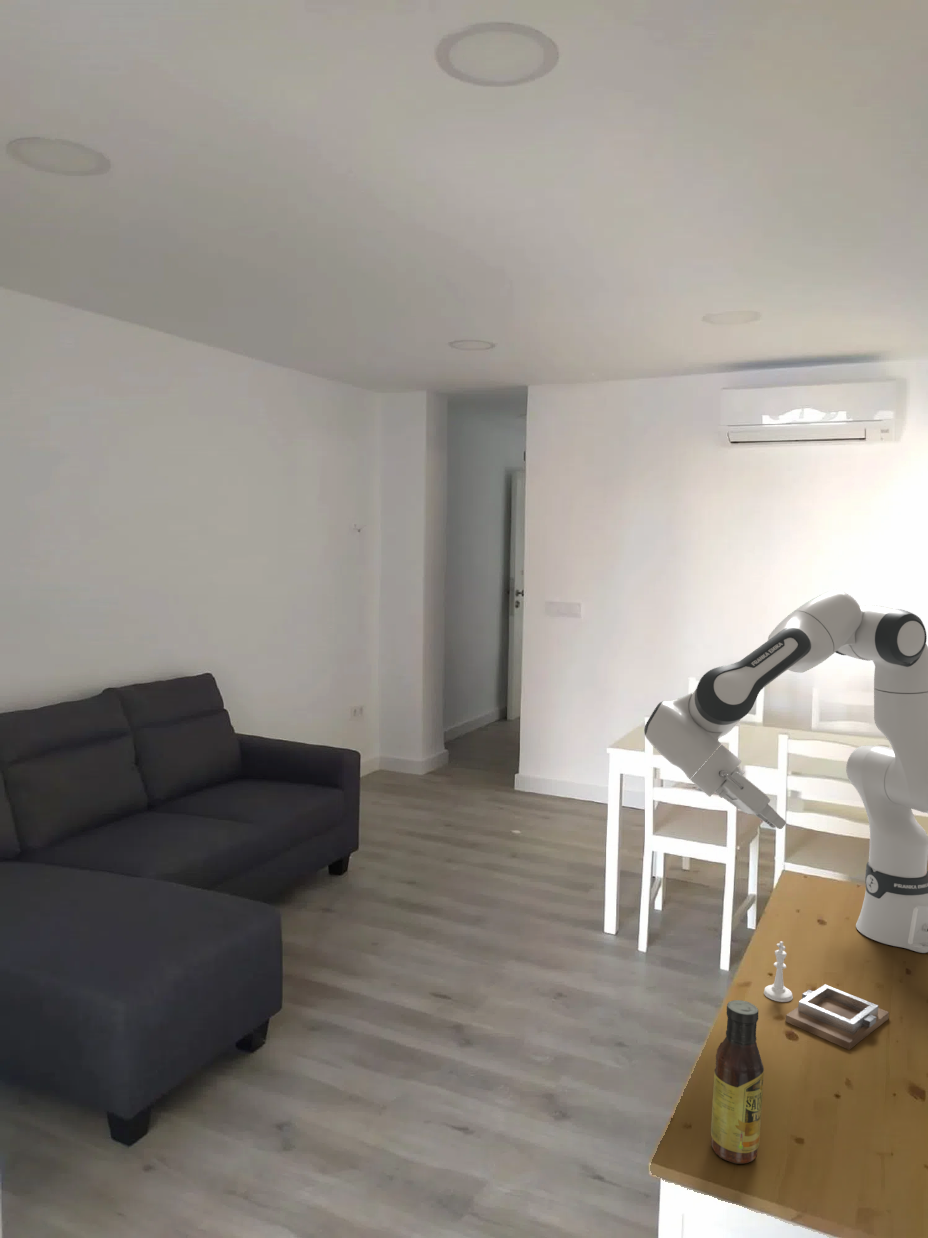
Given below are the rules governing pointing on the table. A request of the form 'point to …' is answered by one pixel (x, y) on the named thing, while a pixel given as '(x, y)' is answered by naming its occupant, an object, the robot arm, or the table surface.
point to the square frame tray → (850, 1026)
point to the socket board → (833, 1032)
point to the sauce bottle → (738, 1087)
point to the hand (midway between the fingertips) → (779, 825)
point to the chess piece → (779, 979)
